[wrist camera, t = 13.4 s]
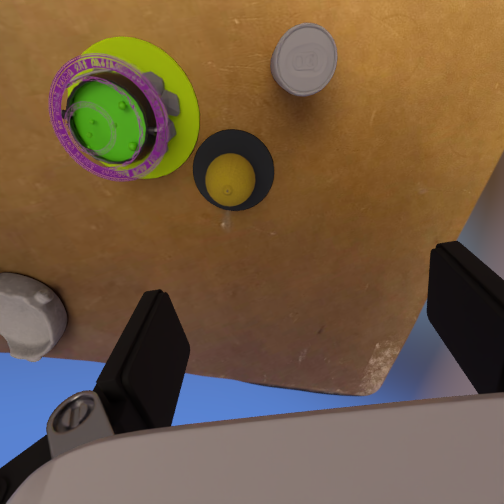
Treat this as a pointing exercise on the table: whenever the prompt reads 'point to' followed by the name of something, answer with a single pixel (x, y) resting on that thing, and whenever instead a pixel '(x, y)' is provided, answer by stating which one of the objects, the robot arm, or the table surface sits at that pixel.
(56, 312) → the dish
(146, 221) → the table surface
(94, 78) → the toy cauldron
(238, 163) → the lemon
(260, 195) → the disc
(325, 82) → the beverage can
